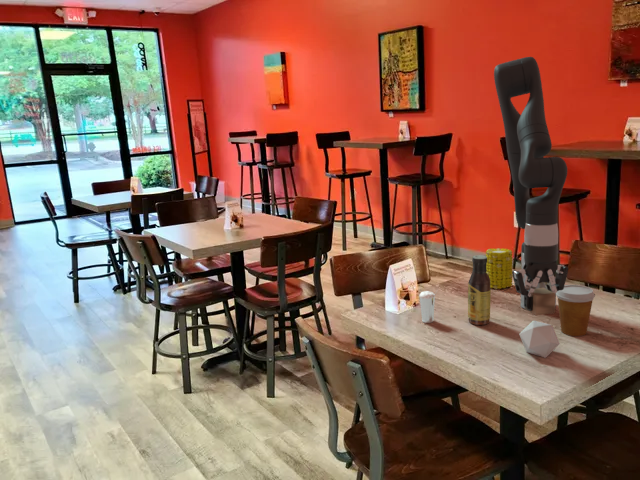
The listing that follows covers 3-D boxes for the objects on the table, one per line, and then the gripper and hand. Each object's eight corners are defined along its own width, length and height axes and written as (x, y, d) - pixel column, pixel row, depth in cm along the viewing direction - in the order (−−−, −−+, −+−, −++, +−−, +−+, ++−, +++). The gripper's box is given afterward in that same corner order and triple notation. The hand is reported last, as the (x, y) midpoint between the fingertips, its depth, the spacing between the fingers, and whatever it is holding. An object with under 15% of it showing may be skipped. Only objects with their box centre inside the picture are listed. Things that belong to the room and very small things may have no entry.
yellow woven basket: (488, 294, 190) (487, 287, 198) (521, 287, 186) (519, 281, 195) (478, 254, 188) (478, 249, 197) (511, 247, 185) (509, 242, 194)
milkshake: (438, 324, 162) (437, 291, 160) (419, 323, 163) (418, 291, 161) (438, 318, 166) (437, 286, 164) (420, 318, 168) (419, 286, 165)
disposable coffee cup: (590, 326, 153) (592, 284, 151) (595, 339, 144) (597, 295, 142) (553, 324, 156) (554, 283, 154) (555, 337, 148) (557, 294, 145)
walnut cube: (543, 306, 139) (543, 287, 138) (554, 313, 135) (555, 293, 134) (524, 309, 139) (525, 289, 138) (536, 315, 134) (536, 295, 133)
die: (565, 355, 138) (552, 318, 142) (560, 351, 131) (546, 312, 135) (532, 363, 141) (520, 327, 145) (525, 359, 134) (513, 321, 138)
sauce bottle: (465, 319, 165) (465, 254, 160) (487, 317, 164) (487, 252, 160) (471, 327, 158) (470, 259, 154) (493, 326, 158) (493, 258, 154)
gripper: (558, 235, 138) (556, 300, 141) (505, 241, 135) (504, 307, 139) (577, 241, 131) (575, 310, 134) (522, 247, 128) (521, 317, 132)
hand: (539, 308), depth 136 cm, fingers closed on walnut cube, 5 cm apart
